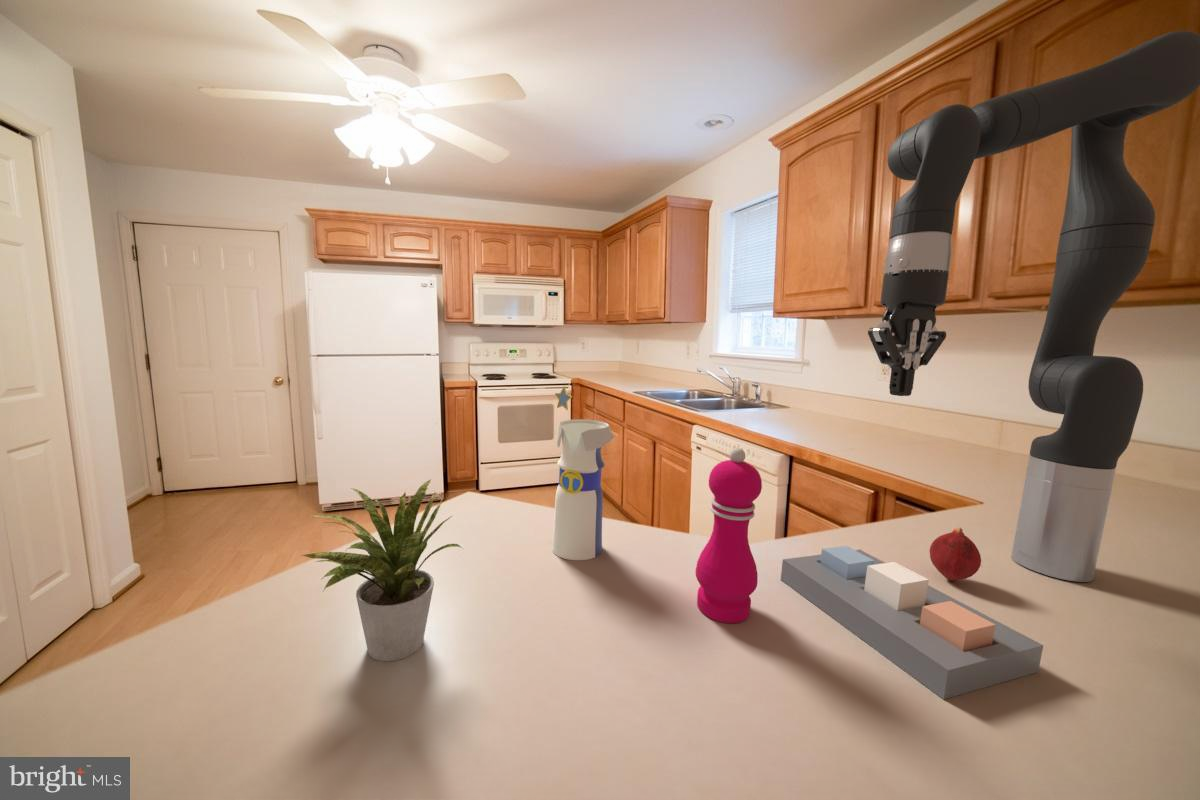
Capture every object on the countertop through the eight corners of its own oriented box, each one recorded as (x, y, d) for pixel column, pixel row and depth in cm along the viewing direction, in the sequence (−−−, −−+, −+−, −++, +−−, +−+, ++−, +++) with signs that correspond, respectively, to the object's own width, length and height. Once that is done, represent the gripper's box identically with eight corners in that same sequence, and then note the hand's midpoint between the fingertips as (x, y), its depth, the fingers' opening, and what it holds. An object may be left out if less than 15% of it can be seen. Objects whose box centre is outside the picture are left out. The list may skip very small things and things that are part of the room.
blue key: (843, 572, 64) (846, 545, 64) (870, 589, 60) (874, 560, 60) (818, 576, 63) (821, 548, 62) (844, 593, 59) (848, 564, 58)
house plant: (358, 596, 54) (356, 462, 52) (477, 598, 55) (480, 466, 53) (282, 687, 40) (275, 507, 38) (443, 688, 41) (445, 512, 38)
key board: (857, 568, 68) (859, 549, 67) (1038, 671, 47) (1043, 645, 47) (780, 579, 63) (782, 559, 63) (943, 699, 42) (948, 670, 42)
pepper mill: (754, 599, 58) (770, 445, 55) (753, 633, 51) (772, 459, 48) (696, 587, 60) (709, 438, 57) (688, 617, 53) (703, 450, 51)
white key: (889, 591, 58) (893, 561, 57) (923, 611, 53) (928, 579, 53) (863, 596, 56) (867, 565, 56) (896, 617, 52) (901, 584, 52)
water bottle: (594, 567, 64) (604, 390, 61) (540, 554, 67) (546, 385, 63) (613, 544, 71) (622, 386, 68) (563, 533, 74) (570, 381, 71)
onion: (986, 594, 62) (995, 538, 61) (938, 587, 63) (947, 533, 62) (961, 573, 68) (970, 522, 67) (918, 568, 69) (926, 517, 68)
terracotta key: (945, 634, 51) (950, 600, 51) (989, 660, 47) (995, 624, 47) (917, 640, 50) (922, 606, 49) (959, 668, 46) (966, 631, 45)
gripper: (921, 278, 69) (907, 392, 71) (856, 270, 64) (843, 392, 66) (977, 272, 62) (958, 398, 64) (908, 262, 57) (891, 399, 59)
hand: (899, 395), depth 65 cm, fingers closed
